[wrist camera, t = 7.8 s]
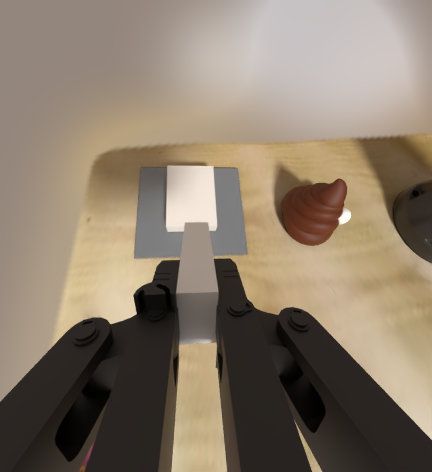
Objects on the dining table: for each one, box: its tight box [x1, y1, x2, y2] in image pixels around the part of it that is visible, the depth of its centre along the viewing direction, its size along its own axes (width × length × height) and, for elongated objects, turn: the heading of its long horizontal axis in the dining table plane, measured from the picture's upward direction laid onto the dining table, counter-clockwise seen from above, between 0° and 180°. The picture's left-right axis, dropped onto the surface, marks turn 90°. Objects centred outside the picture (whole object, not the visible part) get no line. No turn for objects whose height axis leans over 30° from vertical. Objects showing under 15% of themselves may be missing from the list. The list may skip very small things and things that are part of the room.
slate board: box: [134, 167, 248, 259], centre depth 31 cm, size 16×15×1 cm
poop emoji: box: [282, 179, 351, 246], centre depth 28 cm, size 10×8×9 cm
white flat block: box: [166, 165, 217, 232], centre depth 30 cm, size 7×2×10 cm
